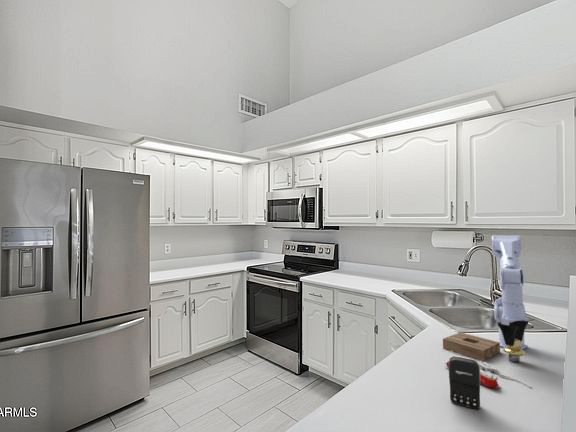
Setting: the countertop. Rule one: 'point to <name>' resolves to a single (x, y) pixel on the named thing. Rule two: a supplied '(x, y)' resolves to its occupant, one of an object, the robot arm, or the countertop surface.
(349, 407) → the countertop surface
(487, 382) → the candy bar
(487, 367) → the pliers
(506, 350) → the pin
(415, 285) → the countertop surface
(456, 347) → the hitch block
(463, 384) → the battery charger
